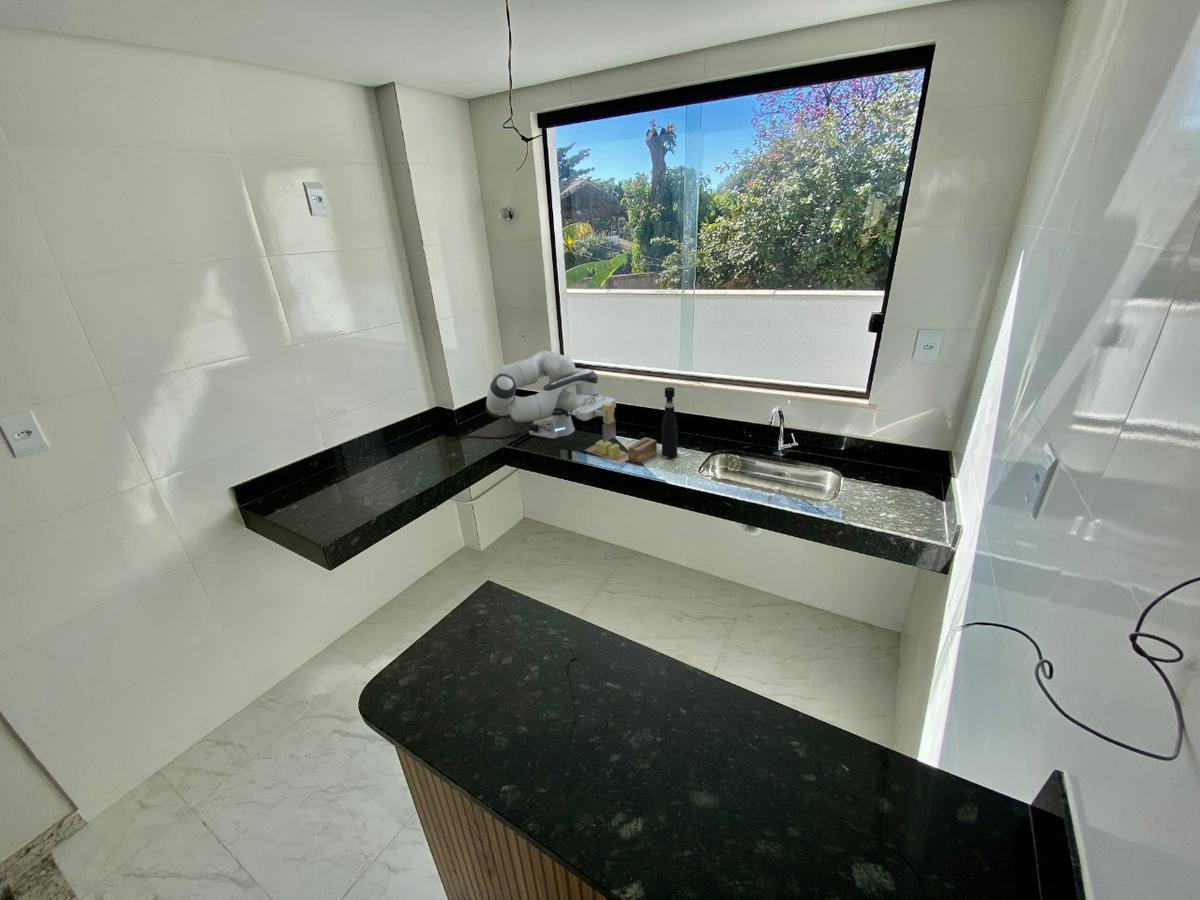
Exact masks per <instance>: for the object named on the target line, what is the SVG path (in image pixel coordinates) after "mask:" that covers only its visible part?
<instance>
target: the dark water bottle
mask: <svg viewBox="0 0 1200 900" xmlns="http://www.w3.org/2000/svg"><path fill="white" fill-rule="evenodd" d="M664 397H665V398H666V399H665V404H664V405H665V406H664V414H663V417H662V421H661V455H662V456H664V457H665V458H666V459H667V460H671V459H675V458H677V457H678V421H677V417H676V414H675V405H674V403H675V402H674V399H673V398H674V397H675V387H671V386H667V387H665V388H664Z"/></svg>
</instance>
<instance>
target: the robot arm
mask: <svg viewBox="0 0 1200 900" xmlns="http://www.w3.org/2000/svg"><path fill="white" fill-rule="evenodd" d="M491 376H492V378H491V379H492V381H491V382H490V385H489V388H488V391H487V395H486V401H485V410H486V413H487V414H488V415H489V416H491V417H492V418H495V419H509V418H510V417H511V419H512V420H513V421H515V422H517V423H530V424H528V429H525V430H523V431H520V432H517V433H514V434H510V435H506V436H505V435H504V436H482V435H465V436H457V437H458V438H455V437H456V436H454V437H453V436H452V437H449V438H448V439H450V440H452V439H451V438H454V439H455V440H457V439H458V440H459V439H466V438H480V439H507V438H511V437H515V436H518V435H521V434H524V433H526V432H528V433H529V435H531V436H536V437H542V438H545V439H546V438H547V439H551V440H554V439H559V438H562V437H566V436H570V435H572V434H573V433H575V431H576V428H575V426H574V423H573V420H572V416H574V417H575V418H576V419H578V420H580V421H583V422H585V421H589V420H591V419H593V418H595V417H603V416H607V412H606V411H603V408H602V405H603V404H605V403H607V402H608V403H612V404H613V407H614V413H615V411H616V410H615V408H617V400H616V399H615V398H614V397H610V396H606V395H602V394H601V393H598V378H599V375H598V374H597V373H596V372H595V371H594V370H593V369H589V368H585V369H581V370H578V371H577V372H576V365H575V362H574V361H573V360H572V359H571V358H569V357H568V356H566V355H564V354H560V353H558V352H557V353H556V352H553V351H549V350H540V351H537V352H536V353H535V354H534V355H533V356H531V357H529V358H526V359H523V360H519V361H514V362H512V363H508V364H505V365H503V366H500V367H498V368H497V369H495V370H494V371H493V373H492V375H491ZM543 377H548V383H547V384H545V385H544V386H543V388H542V389H541V390H540V391H538V392H537V393H536V394H532V395H527V396H518V395H516V392H517V389H519V388H522V387H526V386H530V385H533V384H536V383H537V382H538V381H539V379H541V378H543ZM574 386H575V392H574V391H569V388H571V387H574ZM531 421H534V423H531ZM448 439H446V440H445V443H448V442H449V441H450V440H448ZM454 439H453V440H454Z"/></svg>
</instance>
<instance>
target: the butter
mask: <svg viewBox="0 0 1200 900" xmlns="http://www.w3.org/2000/svg"><path fill="white" fill-rule="evenodd" d="M594 445H595V447H596V451H597V452H600V453H603V454H608V453H609V451H608V447H610V446H611V445H613V442H611V441H610V440H608V441H606V442H604V443H603V439H600V440H598V441H596V442H595V443H594Z"/></svg>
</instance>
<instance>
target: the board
mask: <svg viewBox="0 0 1200 900" xmlns="http://www.w3.org/2000/svg"><path fill="white" fill-rule="evenodd" d="M584 451H585V452H588V453H591V454H594V455H597V456H599V457H601V458H605V459H608V460H611V461H614V462H617V463H620V464H624V463H625V462H628V461H630V460H629V459H628V452H626V451H623V450H620V453H619V454H617V455H616V456H614V457H612V456H609V453H608V454H603V453H600V452H597V451H596V447H595V444H593V445H591V446H589V447H587V448H585V449H584Z"/></svg>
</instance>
